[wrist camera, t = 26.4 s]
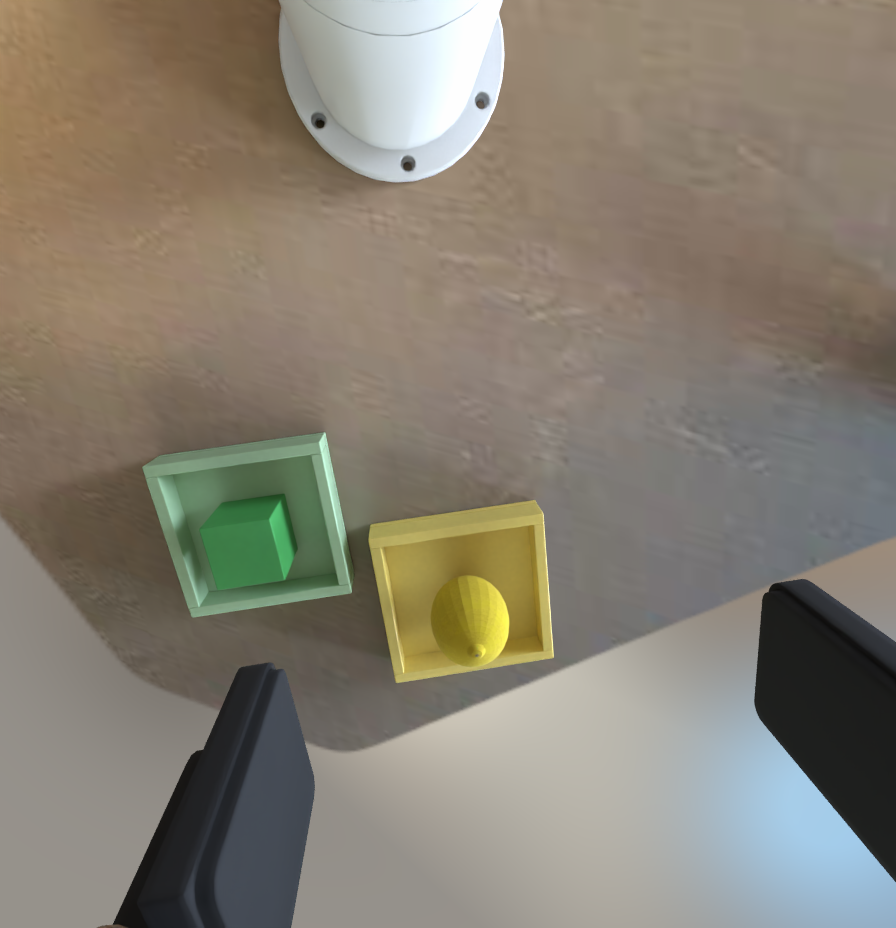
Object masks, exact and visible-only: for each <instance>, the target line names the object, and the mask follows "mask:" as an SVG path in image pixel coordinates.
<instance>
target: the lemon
mask: <svg viewBox="0 0 896 928" xmlns="http://www.w3.org/2000/svg"><path fill="white" fill-rule="evenodd" d="M431 626H432V632H433V635H434V637H435V640H436V642H437V644H438V646H439V648H440V650H441V651H442V652H443V653H444V654H445V656H446V657H447V658H448V659H450V660H451V661H453V662H454V663H456V664H459V665H461V666H466V667H479V666H482V665H485V664H487V663H489V662H491V661H493V660H494V659H495V658H496V657H497V656H498V655H499V654H500V653H501V651H502V650H503V648H504V646H505V644H506V641H507V638H508V633H509V615H508V611H507V607H506V604H505V601H504V600H503V598H502V596H501V594H500V592H499V591H498V590H497V589H496V588H495V587H494V586H493V585H492V584H491V583H490V582H488V581H486V580H484V579H483V578H480V577H476V576H469V575H465V576H459V577H456V578H454V579H452V580H450V581H448V582H447V583H446V584H444V585H443V586H442V588H441V589H440V590H439V591H438V593H437V594H436V597H435V599H434V601H433V604H432V609H431Z"/></svg>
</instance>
